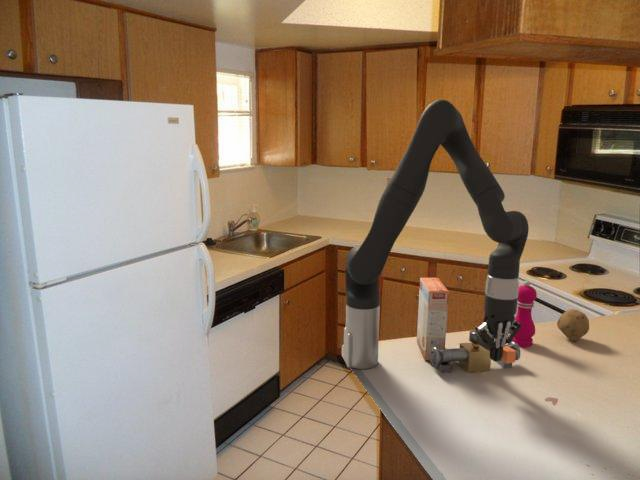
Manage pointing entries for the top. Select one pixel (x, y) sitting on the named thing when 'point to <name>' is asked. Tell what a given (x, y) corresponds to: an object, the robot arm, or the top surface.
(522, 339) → the pepper mill
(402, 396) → the top surface
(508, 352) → the lever
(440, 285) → the cracker box
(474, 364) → the valve pipe
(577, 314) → the brown rounded lump
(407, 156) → the robot arm
